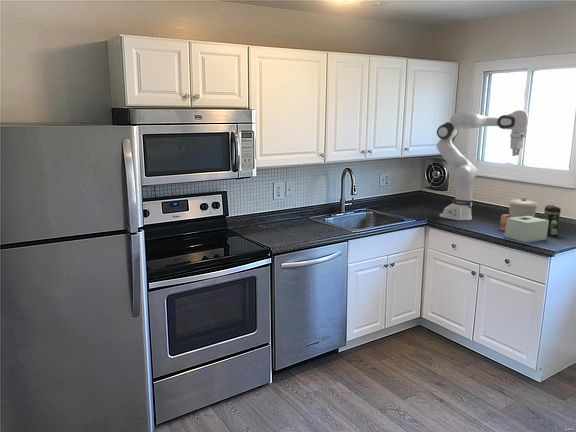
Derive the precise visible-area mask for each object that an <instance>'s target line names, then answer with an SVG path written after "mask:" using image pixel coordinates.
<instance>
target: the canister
mask: <svg viewBox="0 0 576 432" xmlns="http://www.w3.org/2000/svg"><path fill="white" fill-rule="evenodd" d="M508 203H509V207H508V208H509V212H508V213H509V215H511V218H512V217H522V216H531V217H535V215H536V211H537V208H538V206H539V204H538V203H537V202H536V201H533V200H528V197H527V196H524V195H522V196H521V198H520V199H511V200H509V201H508Z"/></svg>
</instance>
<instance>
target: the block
mask: <svg viewBox="0 0 576 432" xmlns="http://www.w3.org/2000/svg"><path fill="white" fill-rule="evenodd" d="M507 218H511V215H509V214H501V216H500V222H499V229H498V230H500V231H504V232H505V228H506V220H507Z"/></svg>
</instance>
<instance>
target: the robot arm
mask: <svg viewBox="0 0 576 432" xmlns="http://www.w3.org/2000/svg"><path fill="white" fill-rule="evenodd" d="M528 120H529V115H528V112H527V111H526V110H523V109H515V110H514V111H512V112H509V113H506V114H502V115H500V116H486V115H481V114H480V113H479V114H478V113H473V112H460V113H459V112H458V113H454V114H452V115H451V117H450V118H449V122H445V123H443V124H441V125H440V126H439V127H437V130H436V136H437V137H438V138H439V139H440V140H439V141H438V142H437V143H436V148H437V150H438V152H439V154H440V155H441V157H443V159H444V160H445V161H446V163H447V164H448V165H449V166H451V167H452V168H453V169H454V170H455V172H454V175H455V182H456V190H455V192H456V193H455V198H453V199H451V201H452V203H451V204H449V205H447V206H445V208H443V212H442V213H440V214H439V217H440V218H445V219H448V220H449V219H451V220H456V221H471V220H473V217H472V206H473V193H474V188H473V179H474V178H475V177H477V175H478V168H477V167H476V166H475V165H474V164H473V163H472V162H471V161H469V159H467V158H466V157H465V156H464V155H463V154H462V153H461V152H460V151H459V149H458V148H457V147H456V146H455V144H454V143H453V141H454V140H455V138H456V137H457V135H458V134H459V129H460V130H461V129H463V130H464V129H465V130H467V129H468V130H469V129H477V128H482V127H498V128H499V129H502V130H511V133H510V135H509V137H510V150H512V151H511V152H512V154H511V155H512V156H513V157H515V156H519V155H520V151H521V149H523V148H524V147H523V146H524V139H525V138H526V135H527V125H528Z"/></svg>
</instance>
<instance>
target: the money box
mask: <svg viewBox="0 0 576 432" xmlns="http://www.w3.org/2000/svg"><path fill="white" fill-rule="evenodd" d="M548 225H549V220H545V219H544V218H540V217H535V216H534V217H531V216H522V217H512V218H507V220H506V228H505V230H504V235H503V236H504V238H507V239H511V240H515V241H518V242H521V243H532V242H537V241H538V242H539V241H545V240H547V237H548V235H547V231H548Z"/></svg>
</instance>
